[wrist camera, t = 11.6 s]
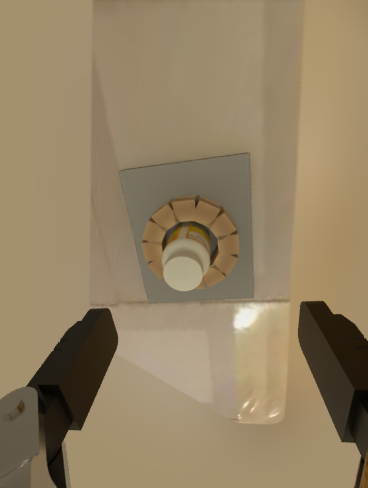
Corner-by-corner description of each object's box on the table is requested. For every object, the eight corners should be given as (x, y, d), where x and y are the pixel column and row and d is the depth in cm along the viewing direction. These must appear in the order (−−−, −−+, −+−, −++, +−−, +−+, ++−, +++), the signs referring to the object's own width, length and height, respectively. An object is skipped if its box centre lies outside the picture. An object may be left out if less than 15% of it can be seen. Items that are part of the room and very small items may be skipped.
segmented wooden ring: (140, 200, 31) (133, 206, 28) (233, 190, 29) (236, 194, 26) (156, 280, 35) (151, 291, 33) (238, 275, 34) (241, 286, 31)
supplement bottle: (207, 217, 31) (206, 246, 22) (212, 254, 33) (214, 294, 24) (167, 222, 32) (151, 253, 23) (174, 258, 34) (162, 299, 25)
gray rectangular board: (122, 169, 31) (118, 171, 30) (247, 152, 29) (249, 153, 27) (150, 297, 39) (148, 303, 37) (252, 292, 36) (253, 297, 35)
